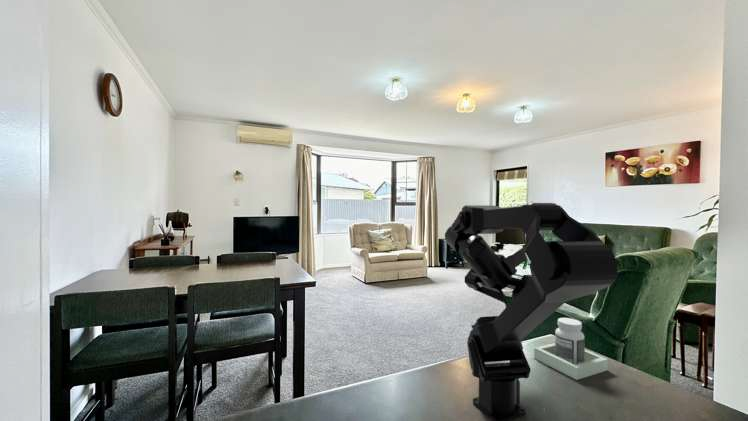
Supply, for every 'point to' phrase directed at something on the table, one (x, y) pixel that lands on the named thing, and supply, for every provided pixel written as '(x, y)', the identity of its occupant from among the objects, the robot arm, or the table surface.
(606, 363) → the bottle holder
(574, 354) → the pill bottle
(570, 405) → the table surface
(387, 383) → the table surface
